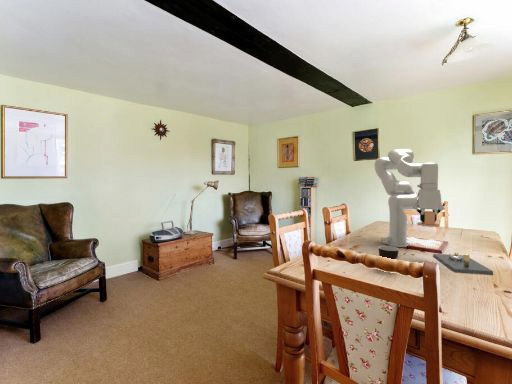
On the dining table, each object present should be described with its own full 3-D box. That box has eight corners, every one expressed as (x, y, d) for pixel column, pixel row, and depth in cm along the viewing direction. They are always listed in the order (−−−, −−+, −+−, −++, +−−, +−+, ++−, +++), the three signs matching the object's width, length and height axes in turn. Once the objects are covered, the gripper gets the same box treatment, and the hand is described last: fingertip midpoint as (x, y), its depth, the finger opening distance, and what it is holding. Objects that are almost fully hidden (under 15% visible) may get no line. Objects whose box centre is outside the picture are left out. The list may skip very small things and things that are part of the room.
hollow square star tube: (420, 226, 135) (420, 212, 135) (413, 223, 145) (414, 210, 145) (443, 227, 133) (443, 213, 133) (435, 223, 143) (435, 210, 142)
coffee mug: (390, 273, 121) (390, 251, 120) (373, 267, 129) (374, 247, 128) (406, 268, 126) (406, 248, 126) (389, 263, 134) (390, 243, 133)
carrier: (454, 272, 122) (454, 256, 121) (433, 256, 144) (433, 243, 144) (492, 274, 118) (493, 259, 118) (465, 258, 141) (465, 245, 140)
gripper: (413, 187, 136) (412, 222, 137) (451, 187, 132) (450, 223, 133) (408, 186, 144) (407, 220, 145) (444, 186, 140) (443, 221, 141)
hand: (428, 221), depth 139 cm, fingers closed on hollow square star tube, 4 cm apart
